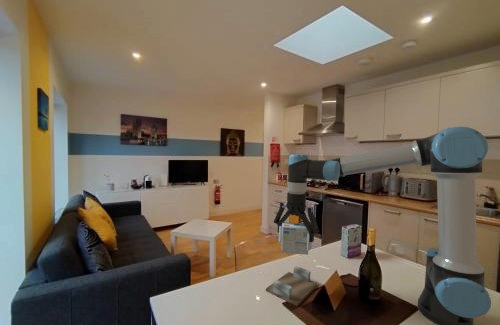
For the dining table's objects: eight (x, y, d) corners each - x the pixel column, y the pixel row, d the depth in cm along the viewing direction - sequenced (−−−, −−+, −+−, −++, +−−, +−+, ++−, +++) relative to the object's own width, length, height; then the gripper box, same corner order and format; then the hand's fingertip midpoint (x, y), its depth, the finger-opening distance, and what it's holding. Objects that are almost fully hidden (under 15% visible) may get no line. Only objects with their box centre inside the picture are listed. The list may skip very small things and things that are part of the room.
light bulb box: (306, 248, 99) (307, 223, 98) (308, 255, 92) (310, 228, 92) (280, 246, 100) (281, 221, 99) (281, 253, 93) (282, 226, 93)
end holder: (317, 285, 99) (318, 274, 99) (297, 306, 85) (297, 292, 85) (288, 273, 108) (289, 263, 108) (265, 290, 94) (266, 278, 94)
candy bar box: (353, 251, 136) (354, 223, 135) (361, 255, 131) (362, 226, 131) (339, 255, 130) (341, 225, 130) (347, 258, 126) (349, 228, 125)
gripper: (329, 195, 90) (327, 250, 91) (276, 187, 106) (274, 235, 106) (321, 198, 84) (319, 257, 85) (266, 189, 100) (264, 239, 101)
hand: (294, 245), depth 96 cm, fingers closed on light bulb box, 12 cm apart
